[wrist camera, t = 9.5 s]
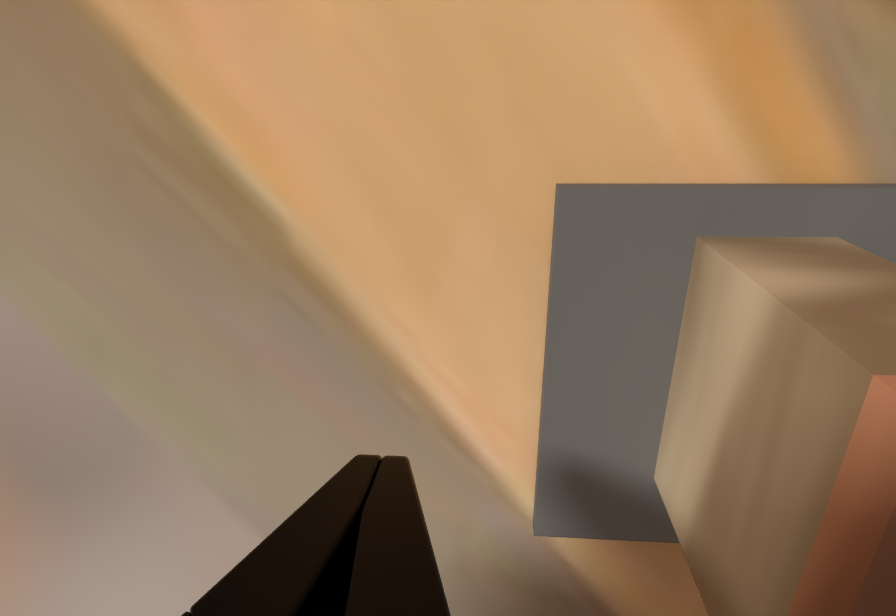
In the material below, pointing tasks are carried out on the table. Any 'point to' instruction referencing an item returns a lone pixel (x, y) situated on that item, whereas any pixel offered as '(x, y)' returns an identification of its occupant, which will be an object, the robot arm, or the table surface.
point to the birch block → (785, 428)
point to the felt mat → (648, 329)
